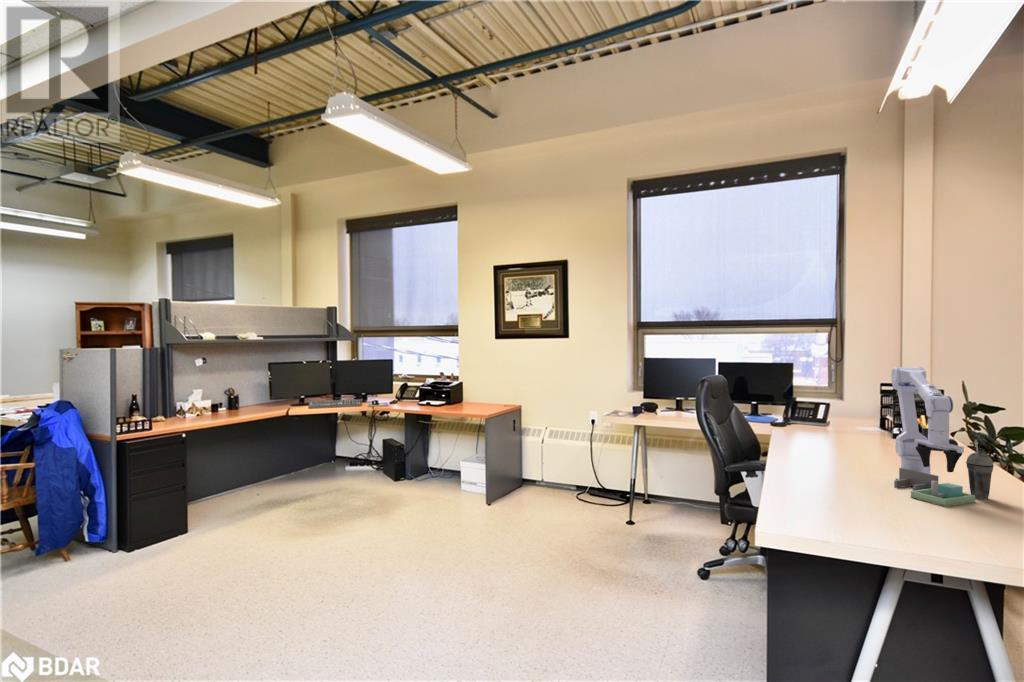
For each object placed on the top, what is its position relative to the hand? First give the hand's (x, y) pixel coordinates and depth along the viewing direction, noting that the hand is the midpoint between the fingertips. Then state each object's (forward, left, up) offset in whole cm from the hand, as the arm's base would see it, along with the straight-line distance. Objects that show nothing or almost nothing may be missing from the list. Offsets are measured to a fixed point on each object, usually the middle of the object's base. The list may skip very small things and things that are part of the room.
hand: (938, 469), depth 183 cm
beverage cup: (-11, +6, -9) cm, 16 cm away
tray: (+4, +4, -9) cm, 11 cm away
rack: (0, -9, -9) cm, 13 cm away
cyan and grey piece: (+3, +4, -9) cm, 10 cm away
